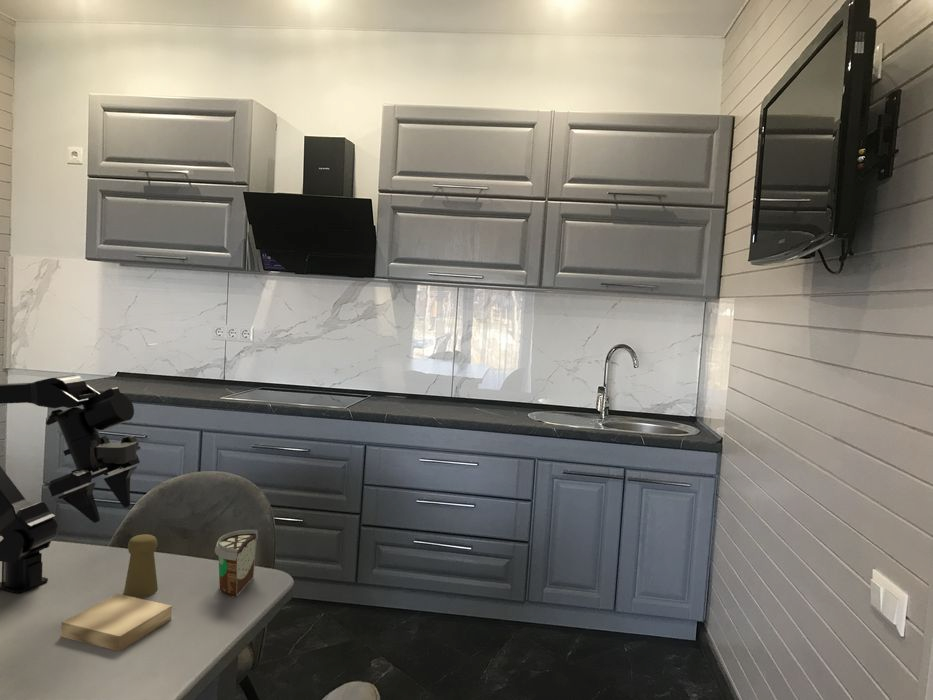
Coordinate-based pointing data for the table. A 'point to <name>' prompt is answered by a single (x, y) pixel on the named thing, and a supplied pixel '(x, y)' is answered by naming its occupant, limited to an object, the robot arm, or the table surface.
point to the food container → (236, 560)
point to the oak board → (116, 621)
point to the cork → (141, 567)
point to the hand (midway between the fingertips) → (112, 514)
